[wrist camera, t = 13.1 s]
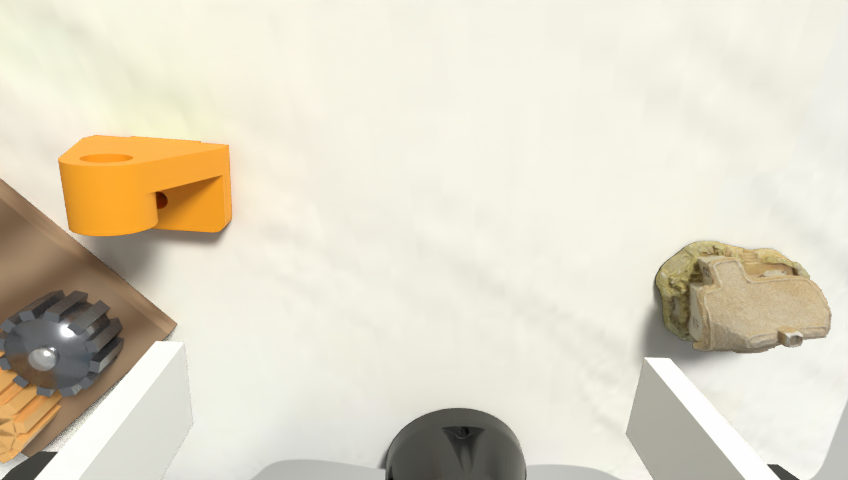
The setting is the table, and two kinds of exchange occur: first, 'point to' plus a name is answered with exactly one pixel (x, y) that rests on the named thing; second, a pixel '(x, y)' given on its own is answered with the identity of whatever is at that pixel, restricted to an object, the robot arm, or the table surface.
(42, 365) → the gear
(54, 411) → the orange gear
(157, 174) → the bracket
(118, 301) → the gear board
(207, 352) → the table surface
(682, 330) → the ceramic model
